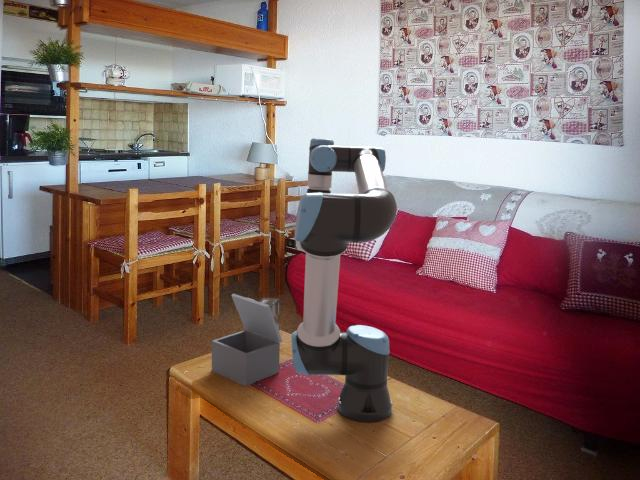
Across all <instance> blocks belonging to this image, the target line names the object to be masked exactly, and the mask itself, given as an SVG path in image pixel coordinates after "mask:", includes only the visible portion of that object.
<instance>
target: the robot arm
mask: <svg viewBox="0 0 640 480" xmlns="http://www.w3.org/2000/svg"><path fill="white" fill-rule="evenodd" d="M308 150H309V152H308V153H309V156H308V171H307V187H308V188H307V189H306V192H305V193H303V195H302V196H301V197H300V198H299V202H298V207H297V213H296V221H295V225H294V240H295V242H299V244H300V248H301V250H302V251H303V252H304V253H305V266H304V268H305V269H304V270H305V271H304V292H303V315H302V316H303V319H302V320H303V321H302V322H301V323H299V325H298V327H297V330H295V331H293V332H292V333H291V350H292V351H291V352H292V363H293V368H294V371H295V373H297V374H299V375H307V376H345V378H344V383H343V387H342V388H341V392H340V394H339V397H338V399H337V410H338V412H339V413H340V414H341V415H342V416H343V417H345V418H347V419H350V420H352V421H357V422H363V423H365V422H366V423H373V422H380V421H382V420H386V419H387V418H389V417H390V416H391V414H392V412H393V411H392V409H393V403H392V399H391V396H390V391H389V388H388V387H389V386H388V373H389V358H390V357H389V355H390V353H391V352H390V338H389V337H388V335H387V334H386V333H385V332H384V331H383V330H380V329H378V328H376V327H373V326H368V325H363V324H355V325H351V326H349V327H348V328H347V329H346V332H341V329H340V327H339V326H338V324H337V323H336V322H337V321H336V320H337V307H338V306H337V304H338V292H339V291H338V290H339V277H340V268H341V267H340V266H341V255H342V254H344V253H345V252H346V251H347V249H348V243H358V244H359V243H360V244H361V243H368V242H372V241H375V240H377V239H378V238H380V237H382V236H383V235H384V234H386V233H387V231H389V229H391V227H392V226H393V224H394V222H395V220H396V218H397V212H398V205H397V202H396V198H395V196H394V194H393V193H392V192H391V191H390V190H389V189H388V185H387V183H386V179H385V176H384V171H385V169H386V162H387V161H386V159H387V157H386V156H387V155H386V151H385V149H384V148H383V147H376V146H350V145H349V146H348V145H347V146H345V145H335V142H334V140H333V139H331V138H330V139H328V138H318V137H317V138H311V139H310V143H309V148H308ZM333 172H341V173H354V174H355V180H356V186H357V190H358V194H356V193H334V192H333V193H332V190H330V189H331V188H332V183H333V182H332V180H333Z"/></svg>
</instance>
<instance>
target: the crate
mask: <svg viewBox="0 0 640 480" xmlns="http://www.w3.org/2000/svg"><path fill="white" fill-rule="evenodd" d="M280 346H281V343H279V342H275V341H273V340H270V339H267V338H265V337H262V336H260V335H257V334H255V333H252V332H250V331H247V330H245V329H244V330H241V331H239V332H235V333H231V334H229V335H226V336H222V337H220V338H216V339H212V340H211V371H212V372H214V373H216V374H218V375H219V376H220V375H221V376H222V377H225V378H227V379H229V380H231V381H233V382H236V383H237V384H239V385H242V386H244V387H248V386H250V385H252V384H255V383H257V382H256V381H258V382H260V381H262V380H261V379H263V380H265V379H267V377H268V378H270V377H273V376H275V375H277V373H278V374H279V373H280V351H281V350H280V348H281V347H280ZM274 374H275V375H274ZM272 375H273V376H272ZM269 376H270V377H269ZM264 378H265V379H264ZM259 380H260V381H259ZM254 382H255V383H254Z"/></svg>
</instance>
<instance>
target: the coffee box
mask: <svg viewBox="0 0 640 480" xmlns="http://www.w3.org/2000/svg"><path fill="white" fill-rule="evenodd" d="M258 302H261V303H264V304H267V305H269V306H270V309H271V311H272V314H273V317H274V320H275V322H276V325H277V328H278V330H279V331H280V311H281V309H280V303H281V298H272V297H262V298H261V299H260V300H259V301H258ZM257 335H258V334H257ZM262 337H263V336H262ZM265 338H266V337H265ZM267 339H268V338H267ZM270 340H271V339H270ZM273 341H274V340H273ZM275 342H276V341H275Z"/></svg>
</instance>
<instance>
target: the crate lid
mask: <svg viewBox="0 0 640 480" xmlns="http://www.w3.org/2000/svg"><path fill="white" fill-rule="evenodd" d="M231 299H232V301H233V303H234V305H235V309H236V311H237V312H238V316H239V318H240V320H241V321H240V322H242V325H243V328H244V330H246V331H249V332H252V333H254V334H258V335H260V336H263V337H266V338H268V339H271V340H274V341H276V342H278V343H280V344H281V343H283V339H282V336H281V333H280V329H279V330H278V328H277V325H276V322H275V320H274V317H273V314H272V311H271V309H270V306H269V305H267V304H264V303H261V302H259V301H257V300H255V299H254V298H253V299H252V298H250V297H245V296H243V295H239V294H237V293H232V294H231Z"/></svg>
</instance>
